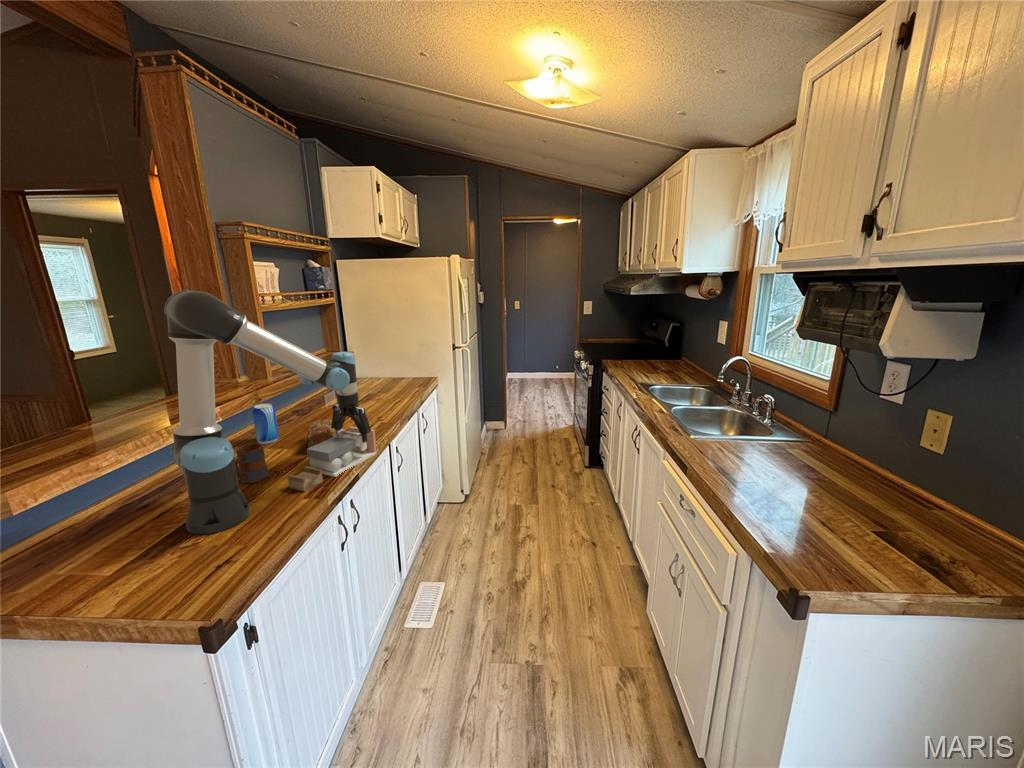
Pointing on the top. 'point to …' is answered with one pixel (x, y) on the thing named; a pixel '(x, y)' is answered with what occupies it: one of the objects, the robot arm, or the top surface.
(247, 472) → the mug
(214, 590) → the top surface
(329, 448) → the slab
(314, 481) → the rack
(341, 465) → the roller bed
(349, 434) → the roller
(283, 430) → the top surface
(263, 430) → the beer can
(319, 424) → the bread
